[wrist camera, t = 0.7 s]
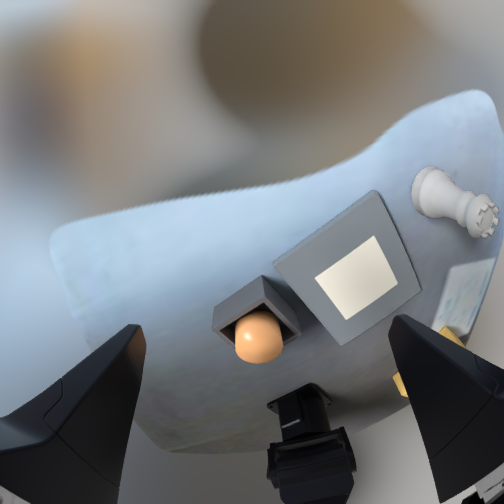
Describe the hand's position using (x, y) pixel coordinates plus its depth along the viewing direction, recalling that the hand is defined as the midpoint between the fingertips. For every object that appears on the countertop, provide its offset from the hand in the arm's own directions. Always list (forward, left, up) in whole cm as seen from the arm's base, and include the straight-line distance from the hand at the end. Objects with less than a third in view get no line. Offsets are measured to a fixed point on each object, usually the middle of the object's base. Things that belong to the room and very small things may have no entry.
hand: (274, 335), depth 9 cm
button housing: (-7, +5, -13) cm, 16 cm away
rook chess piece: (-7, -14, -13) cm, 20 cm away
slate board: (-10, -4, -13) cm, 17 cm away
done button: (-7, +5, -11) cm, 14 cm away
